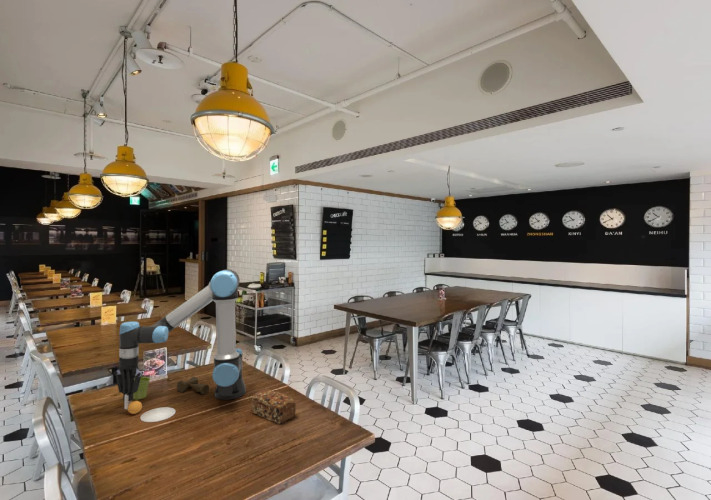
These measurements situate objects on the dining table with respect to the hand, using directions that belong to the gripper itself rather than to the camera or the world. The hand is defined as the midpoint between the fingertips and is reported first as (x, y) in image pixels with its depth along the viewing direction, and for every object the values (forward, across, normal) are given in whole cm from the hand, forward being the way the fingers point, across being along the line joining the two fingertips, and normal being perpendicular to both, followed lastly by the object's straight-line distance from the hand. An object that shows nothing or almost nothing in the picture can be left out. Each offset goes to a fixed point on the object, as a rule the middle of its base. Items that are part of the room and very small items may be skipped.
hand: (128, 407), depth 166 cm
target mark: (+2, +15, 0) cm, 15 cm away
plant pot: (+3, -6, +16) cm, 17 cm away
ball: (0, +3, 0) cm, 3 cm away
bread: (+2, +66, +6) cm, 67 cm away
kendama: (+3, +15, +28) cm, 32 cm away
